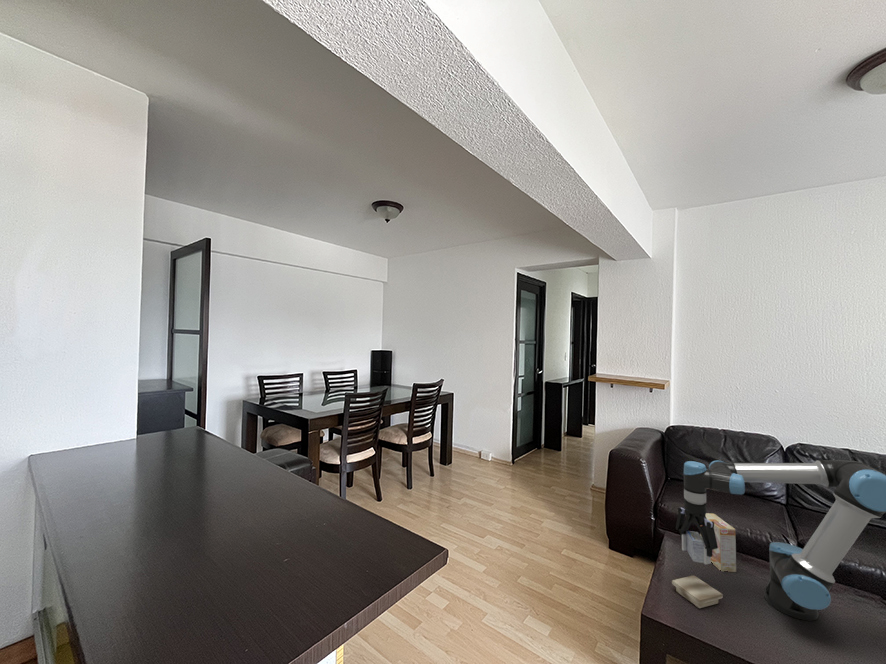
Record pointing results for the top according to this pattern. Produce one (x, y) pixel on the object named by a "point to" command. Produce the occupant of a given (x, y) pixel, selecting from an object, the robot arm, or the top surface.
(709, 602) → the stand
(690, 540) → the medicine box
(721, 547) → the coffeecake box
